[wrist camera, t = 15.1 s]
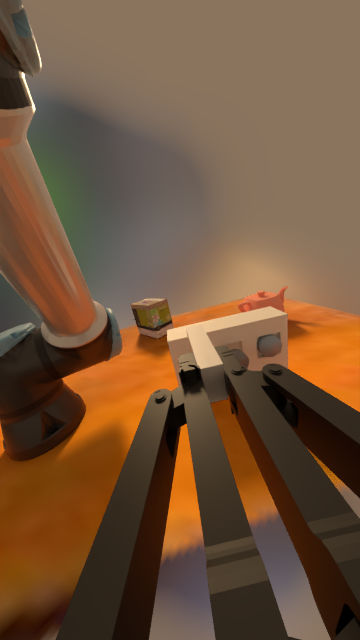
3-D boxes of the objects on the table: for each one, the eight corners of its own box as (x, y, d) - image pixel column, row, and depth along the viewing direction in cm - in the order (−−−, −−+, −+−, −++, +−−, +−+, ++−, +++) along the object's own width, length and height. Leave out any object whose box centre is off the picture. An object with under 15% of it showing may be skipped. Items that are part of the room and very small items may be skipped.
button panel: (183, 401, 40) (167, 341, 35) (180, 383, 45) (166, 330, 40) (288, 376, 40) (287, 313, 35) (272, 362, 45) (270, 306, 40)
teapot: (250, 334, 61) (247, 300, 57) (233, 323, 72) (229, 295, 68) (300, 319, 64) (300, 286, 60) (276, 311, 75) (275, 282, 71)
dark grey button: (261, 359, 37) (260, 340, 35) (257, 355, 38) (256, 336, 37) (282, 354, 37) (281, 335, 35) (277, 350, 38) (276, 331, 37)
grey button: (227, 375, 34) (224, 356, 33) (224, 370, 36) (222, 351, 34) (250, 370, 34) (248, 350, 33) (246, 365, 36) (244, 346, 34)
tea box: (175, 329, 80) (167, 297, 75) (157, 339, 73) (147, 305, 69) (155, 325, 90) (147, 297, 86) (138, 333, 84) (129, 304, 80)
